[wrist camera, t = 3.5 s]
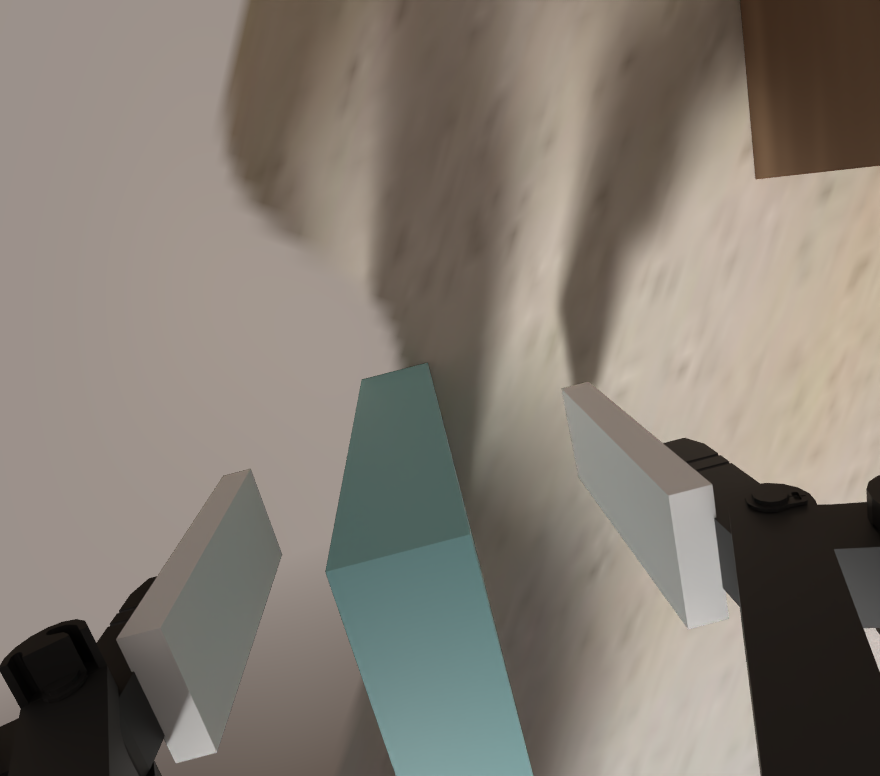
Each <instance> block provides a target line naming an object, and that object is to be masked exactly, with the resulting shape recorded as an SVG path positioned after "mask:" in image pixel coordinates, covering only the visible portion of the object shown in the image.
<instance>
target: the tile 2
mask: <svg viewBox="0 0 880 776" xmlns="http://www.w3.org/2000/svg"><path fill="white" fill-rule="evenodd" d="M740 5H741V16H742V28H743V39H744V51H745V62H746V74H747V85H748V97H749V108H750V120H751V131H752V143H753V154H754V166H755V177H756V179H763V178H772V177H781V176H790V175H799V174H808V173H817V172H826V171H835V170H844V169H853V168H862V167H871V166H880V0H740Z"/></svg>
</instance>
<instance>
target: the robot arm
mask: <svg viewBox="0 0 880 776" xmlns="http://www.w3.org/2000/svg"><path fill="white" fill-rule="evenodd" d="M561 389H562V394H563V399H564V405H565V410H566V415H567V420H568V425H569V430H570V435H571V441H572V446H573V451H574V456H575V461H576V466H577V471H578V477H579V479H580V480H581V481H582V483H583V484H584V486H585V487H586V488H587V490H588V491H589V493H590V494H591V495H592V497H593V498H594V499H595V501H596V502H597V504H598V505H599V506H600V508H601V509H602V511H603V512H604V513H605V515H606V516H607V517H608V519H609V520H610V522H611V523H612V524H613V526H614V527H615V529H616V530H617V531H618V533H619V534H620V536H621V537H622V538H623V540H624V541H625V542H626V544H627V545H628V547H629V548H630V549H631V551H632V552H633V554H634V555H635V556H636V558H637V559H638V560H639V562H640V563H641V565H642V566H643V567H644V569H645V570H646V572H647V573H648V574H649V576H650V577H651V578H652V580H653V581H654V583H655V584H656V585H657V587H658V588H659V590H660V591H661V592H662V594H663V595H664V597H665V598H666V599H667V601H668V602H669V603H670V605H671V606H672V608H673V609H674V610H675V612H676V613H677V615H678V616H679V617H680V619H681V620H682V621H683V623H684V624H685V626H686V627H687V628H688V629H692V628H696V627H700V626H704V625H707V624H711V623H715V622H719V621H723V620H726V619H729V614H728V606H727V598H726V592H727V593H728V594H729V595H730V597H731V598H732V599H733V600H734V601H735V602H736V603H737V604H738V605H739V607H740V612H741V621H742V629H743V638H744V646H745V655H746V662H747V669H748V677H749V686H750V694H751V702H752V710H753V718H754V726H755V734H756V742H757V750H758V758H759V766H760V774H761V776H880V672H879V669H878V666H877V664H876V661H875V658H874V656H873V653H872V650H871V648H870V645H869V642H868V640H867V637H866V634H865V632H864V629H863V628H876V630H877V631H878V633H879V634H880V475H879V476H877V477H875V478H874V479H872V480H871V481H869V483H868V486H867V502H861V503H847V504H832V505H817V503H816V501H815V500H814V498H813V497H812V496H811V495H810V494H809V493H808V492H806V491H804V490H802V489H800V488H798V487H793V486H789V485H785V484H774V483H763V484H760V483H758V482H757V481H756V480H754V479H753V478H751V477H750V476H749V475H747V474H746V473H744V472H743V471H742V470H740V469H739V468H738V467H736V466H735V465H733V464H732V463H729V461H728V460H726V459H725V458H724V457H722V456H721V455H718V453H717V452H715V451H714V450H713V449H711V448H710V447H708V446H707V445H706V444H704V443H700V442H697V441H693V440H690V439H687V438H682V439H678V440H674V441H670V442H666V443H662V442H661V441H660V440H658V439H657V438H656V437H655V436H653V435H652V434H651V433H650V432H649V431H647V430H646V429H645V428H644V427H643V426H641V425H640V424H639V423H638V422H637V421H635V420H634V419H633V418H632V417H631V416H629V415H628V414H627V413H626V412H625V411H623V410H622V409H621V408H620V407H618V406H617V405H616V404H615V403H614V402H612V401H611V400H610V399H609V398H608V397H606V396H605V395H604V394H603V393H602V392H600V391H599V390H598V389H597V388H596V387H594V386H593V385H592V384H591V383H590V382H584V383H581V384H577V385H573V386H569V387H565V388H561ZM281 556H282V553H281V550H280V547H279V545H278V542H277V539H276V537H275V534H274V531H273V528H272V526H271V523H270V520H269V518H268V515H267V512H266V509H265V507H264V504H263V501H262V498H261V496H260V493H259V490H258V488H257V485H256V482H255V479H254V477H253V474H252V471H251V469H248V470H244V471H240V472H236V473H232V474H229V475H225V476H223V477H222V479H221V480H220V482H219V483H218V485H217V486H216V488H215V489H214V491H213V492H212V494H211V496H210V497H209V499H208V500H207V502H206V503H205V505H204V506H203V508H202V509H201V511H200V512H199V514H198V515H197V517H196V518H195V520H194V521H193V523H192V525H191V526H190V527H189V529H188V530H187V532H186V534H185V535H184V537H183V538H182V540H181V541H180V543H179V544H178V546H177V547H176V549H175V550H174V552H173V553H172V555H171V556H170V558H169V559H168V561H167V562H166V564H165V565H164V567H163V569H162V570H161V572H160V573H159V575H158V576H156V577H153V578H149V579H148V580H147V581H146V582H144V583H143V584H142V585H141V586H140V587H139V588H137V589H136V590H135V591H134V592H133V593H132V594H130V596H129V597H128V599H127V600H126V602H125V603H124V605H123V606H122V607H121V609H120V610H119V613H118V614H116V616H115V617H114V619H113V620H112V622H111V623H110V627H107V629H106V630H105V632H104V633H103V635H102V636H101V637H100V639H99V640H98V642H97V643H96V642H95V640H94V638H93V636H92V634H91V632H90V630H89V628H88V626H87V624H86V622H85V621H83V620H78V619H75V620H70V621H65V622H61V623H59V624H56V625H53V626H50V627H48V628H46V629H44V630H42V631H40V632H39V633H37V634H35V635H33V636H31V637H30V638H28V639H27V640H26V641H24V642H22V643H21V644H20V645H18V646H17V647H15V649H13V650H12V651H11V652H10V653H9V654H8V655H7V656H6V657H5V658H4V660H3V661H2V663H1V665H0V672H1V674H2V676H3V678H4V679H5V681H6V683H7V685H8V687H9V688H10V690H11V692H12V694H13V695H14V697H15V699H16V701H17V703H18V705H19V706H20V708H21V710H20V715H19V718H18V719H16V720H14V721H12V722H10V723H7V724H5V725H3V726H1V727H0V776H162V775H161V773H160V771H159V770H158V767H157V765H156V763H155V761H154V759H155V757H156V755H157V752H158V750H159V748H160V746H161V743H162V741H163V739H164V740H165V742H166V744H167V747H168V749H169V751H170V753H171V755H172V757H173V759H174V761H175V763H180V762H183V761H187V760H191V759H194V758H199V757H203V756H206V755H210V754H214V753H217V751H218V748H219V745H220V742H221V739H222V736H223V733H224V730H225V727H226V723H227V721H228V718H229V714H230V711H231V708H232V705H233V702H234V699H235V696H236V693H237V690H238V687H239V684H240V681H241V678H242V675H243V672H244V669H245V666H246V663H247V660H248V657H249V654H250V651H251V648H252V644H253V641H254V638H255V635H256V632H257V629H258V626H259V623H260V620H261V617H262V614H263V611H264V608H265V605H266V602H267V599H268V595H269V593H270V590H271V587H272V583H273V581H274V577H275V574H276V571H277V568H278V565H279V562H280V559H281Z"/></svg>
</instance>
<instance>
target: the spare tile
mask: <svg viewBox="0 0 880 776" xmlns="http://www.w3.org/2000/svg"><path fill="white" fill-rule="evenodd" d="M325 572H326V575H327V578H328V581H329V584H330V587H331V590H332V593H333V596H334V598H335V601H336V604H337V607H338V610H339V613H340V616H341V619H342V621H343V624H344V627H345V630H346V633H347V636H348V639H349V642H350V644H351V647H352V650H353V653H354V656H355V659H356V662H357V665H358V668H359V671H360V674H361V676H362V679H363V682H364V685H365V688H366V691H367V694H368V697H369V700H370V703H371V705H372V708H373V711H374V714H375V717H376V720H377V723H378V726H379V729H380V731H381V734H382V737H383V740H384V743H385V746H386V749H387V752H388V755H389V757H390V760H391V763H392V766H393V769H394V772H395V775H396V776H533V772H532V768H531V764H530V760H529V756H528V752H527V748H526V745H525V741H524V737H523V733H522V729H521V725H520V721H519V717H518V713H517V709H516V705H515V701H514V697H513V693H512V690H511V686H510V682H509V678H508V674H507V670H506V666H505V662H504V658H503V654H502V650H501V646H500V642H499V638H498V634H497V631H496V627H495V623H494V619H493V615H492V611H491V607H490V603H489V599H488V595H487V591H486V587H485V583H484V579H483V576H482V572H481V568H480V564H479V560H478V556H477V552H476V548H475V544H474V540H473V536H472V532H471V528H470V524H469V520H468V517H467V513H466V509H465V505H464V501H463V497H462V493H461V489H460V486H459V482H458V478H457V474H456V470H455V466H454V462H453V458H452V455H451V451H450V447H449V443H448V439H447V435H446V431H445V428H444V424H443V420H442V416H441V412H440V408H439V404H438V401H437V397H436V393H435V389H434V385H433V381H432V377H431V373H430V370H429V366H428V363H424V364H420V365H416V366H413V367H409V368H405V369H401V370H397V371H393V372H389V373H385V374H382V375H378V376H374V377H370V378H366V379H362V381H361V386H360V392H359V397H358V402H357V407H356V413H355V418H354V423H353V429H352V434H351V439H350V444H349V450H348V456H347V460H346V466H345V471H344V476H343V482H342V487H341V492H340V497H339V503H338V508H337V513H336V519H335V524H334V529H333V534H332V540H331V545H330V551H329V555H328V561H327V566H326V571H325Z"/></svg>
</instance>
